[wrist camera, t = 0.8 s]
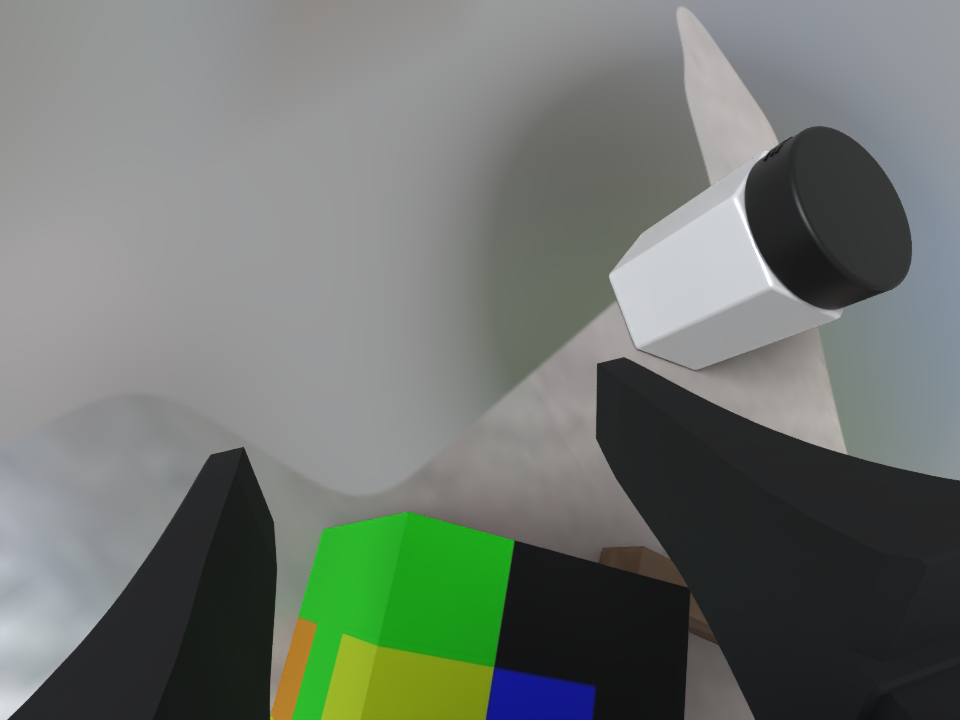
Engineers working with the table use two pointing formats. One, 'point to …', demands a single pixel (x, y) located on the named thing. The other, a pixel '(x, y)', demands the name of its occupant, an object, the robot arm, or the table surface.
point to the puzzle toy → (478, 631)
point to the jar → (765, 252)
